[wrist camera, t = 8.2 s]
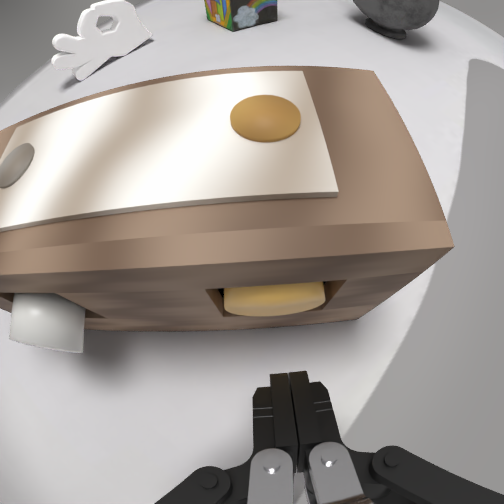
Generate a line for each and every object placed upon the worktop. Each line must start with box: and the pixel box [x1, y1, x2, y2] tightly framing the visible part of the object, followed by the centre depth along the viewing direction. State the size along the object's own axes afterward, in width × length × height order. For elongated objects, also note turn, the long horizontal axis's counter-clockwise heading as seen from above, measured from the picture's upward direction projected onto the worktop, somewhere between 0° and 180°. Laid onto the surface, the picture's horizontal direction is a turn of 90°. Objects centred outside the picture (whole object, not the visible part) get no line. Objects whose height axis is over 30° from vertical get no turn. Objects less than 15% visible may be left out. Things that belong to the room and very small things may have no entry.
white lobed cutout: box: [51, 0, 153, 81], centre depth 31 cm, size 3×15×11 cm, turn 130°
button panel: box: [0, 66, 454, 331], centre depth 16 cm, size 24×10×12 cm, turn 93°
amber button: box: [224, 281, 325, 316], centre depth 14 cm, size 4×3×4 cm
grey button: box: [9, 293, 86, 353], centre depth 13 cm, size 4×3×4 cm
